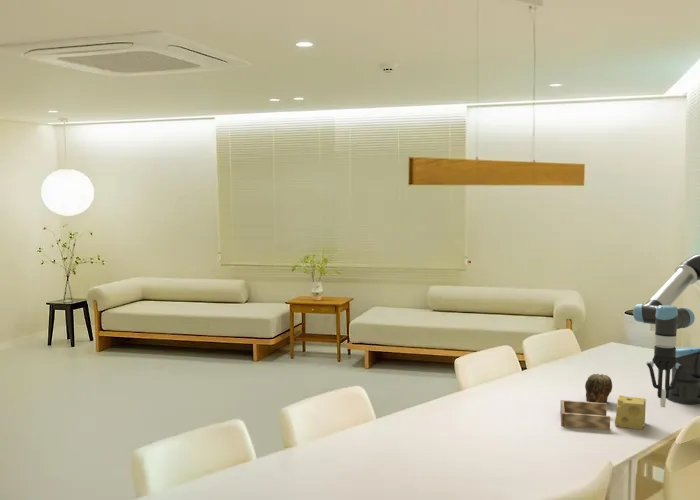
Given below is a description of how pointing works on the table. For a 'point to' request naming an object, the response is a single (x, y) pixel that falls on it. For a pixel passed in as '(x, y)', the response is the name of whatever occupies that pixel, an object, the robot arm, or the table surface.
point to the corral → (584, 414)
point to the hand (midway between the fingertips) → (662, 406)
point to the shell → (598, 388)
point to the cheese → (630, 412)
